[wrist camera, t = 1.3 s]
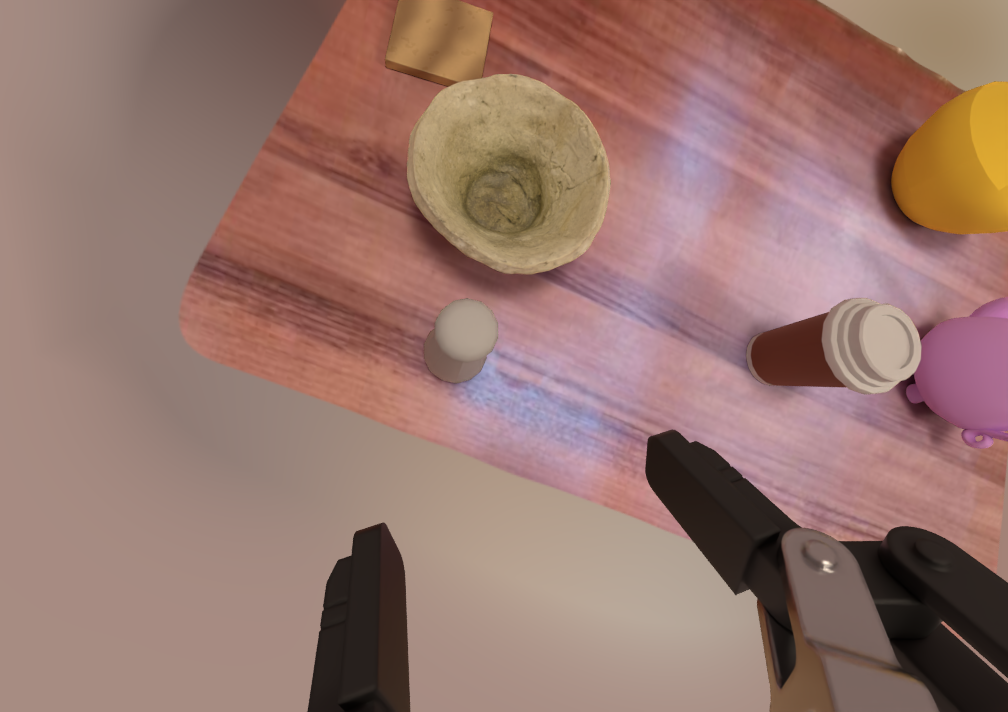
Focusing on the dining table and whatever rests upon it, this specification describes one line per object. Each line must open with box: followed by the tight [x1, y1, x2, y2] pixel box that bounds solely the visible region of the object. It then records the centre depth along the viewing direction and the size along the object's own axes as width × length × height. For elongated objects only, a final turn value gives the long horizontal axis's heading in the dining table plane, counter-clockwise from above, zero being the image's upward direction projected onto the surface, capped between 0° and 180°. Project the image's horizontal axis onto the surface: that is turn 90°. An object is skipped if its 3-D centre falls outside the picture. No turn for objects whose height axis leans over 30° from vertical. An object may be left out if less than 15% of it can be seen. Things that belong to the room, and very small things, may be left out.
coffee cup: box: [746, 298, 921, 394], centre depth 38 cm, size 9×9×12 cm
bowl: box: [407, 74, 611, 274], centre depth 33 cm, size 14×18×15 cm
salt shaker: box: [424, 298, 498, 383], centre depth 30 cm, size 6×6×13 cm
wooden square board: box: [385, 0, 493, 86], centre depth 40 cm, size 10×10×1 cm
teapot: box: [906, 297, 1008, 448], centre depth 43 cm, size 20×14×12 cm
